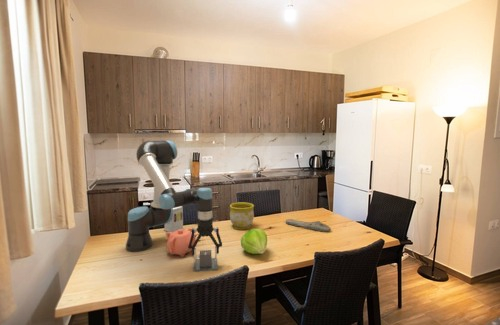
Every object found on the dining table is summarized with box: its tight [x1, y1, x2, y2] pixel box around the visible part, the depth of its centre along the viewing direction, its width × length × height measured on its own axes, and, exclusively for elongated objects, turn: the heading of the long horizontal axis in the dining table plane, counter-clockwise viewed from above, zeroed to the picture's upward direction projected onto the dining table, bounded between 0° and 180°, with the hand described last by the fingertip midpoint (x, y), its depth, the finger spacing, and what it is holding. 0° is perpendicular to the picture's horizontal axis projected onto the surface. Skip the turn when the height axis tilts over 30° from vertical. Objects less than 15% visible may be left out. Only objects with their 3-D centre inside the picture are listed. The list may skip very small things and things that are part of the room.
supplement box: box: [164, 206, 184, 233], centre depth 192 cm, size 10×9×17 cm
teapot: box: [165, 228, 199, 258], centre depth 154 cm, size 16×17×14 cm
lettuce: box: [240, 228, 268, 255], centre depth 154 cm, size 15×20×14 cm
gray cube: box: [199, 249, 213, 267], centre depth 139 cm, size 6×6×6 cm
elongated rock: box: [285, 218, 331, 233], centre depth 200 cm, size 35×5×10 cm
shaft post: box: [193, 257, 219, 272], centre depth 140 cm, size 12×12×5 cm
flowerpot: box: [229, 201, 255, 231], centre depth 199 cm, size 18×18×16 cm
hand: (205, 260), depth 140 cm, fingers open, 10 cm apart
